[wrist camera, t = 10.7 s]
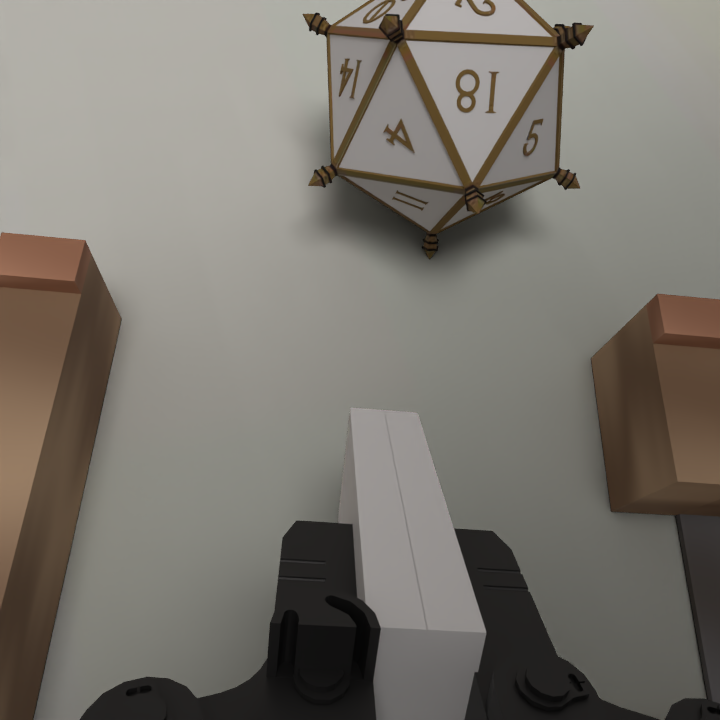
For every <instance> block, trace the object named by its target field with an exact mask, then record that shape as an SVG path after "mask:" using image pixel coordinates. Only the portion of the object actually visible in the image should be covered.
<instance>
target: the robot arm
mask: <svg viewBox="0 0 720 720" xmlns="http://www.w3.org/2000/svg"><path fill="white" fill-rule="evenodd" d="M338 520H339V523H328V522H312V521H296V522H295V523H294V524H293V525H292V527H291V528H290V529H289V530H288V532H287V533H286V534H285V535H284V537H283V540H282V549H281V558H280V567H279V577H278V585H277V594H276V604H275V612H274V615H273V617H272V620H271V622H270V632H269V646H268V658H267V660H266V661H265V663H264V664H263V666H262V668H261V669H260V670H259V671H258V672H257V673H256V674H255V675H254V676H253V677H252V678H251V679H249V680H248V681H246V682H244V683H243V684H241V685H239V686H238V687H236V688H233V689H230V690H227V691H224V692H222V693H218V694H214V695H210V696H206V697H201V698H196V697H195V696H194V695H193V694H192V692H191V691H190V690H189V689H188V688H187V687H186V686H184V685H182V684H180V683H177V682H175V681H173V680H171V679H168V678H155V677H144V678H140V679H136V680H131V681H127V682H123V683H122V684H120V685H118V686H116V687H114V688H112V689H111V690H109V691H107V692H105V693H103V694H102V695H101V696H100V697H99V698H98V699H97V700H96V701H95V702H94V703H93V704H92V705H91V706H90V707H89V708H88V709H87V710H86V712H85V713H84V714H83V716H82V717H81V719H80V720H659V719H656V718H653V717H649V716H646V715H643V714H640V713H637V712H634V711H630V710H627V709H624V708H621V707H618V706H616V705H613V704H611V703H608V702H606V701H603V700H602V699H600V698H599V697H598V695H597V693H596V691H595V689H594V688H593V687H592V685H591V684H590V682H589V681H588V679H587V678H586V677H585V675H584V674H583V673H582V672H580V671H579V670H578V669H577V668H575V667H574V666H573V665H572V664H571V663H569V662H568V661H566V660H564V659H562V658H560V657H558V656H557V654H556V651H555V649H554V647H553V645H552V642H551V640H550V638H549V635H548V633H547V631H546V628H545V626H544V624H543V621H542V619H541V617H540V615H539V612H538V610H537V608H536V605H535V603H534V601H533V598H532V596H531V594H530V592H528V587H527V585H526V582H525V580H524V578H523V575H522V574H520V568H519V566H518V564H517V561H516V559H515V557H514V554H513V552H512V550H511V549H510V548H509V547H508V546H507V545H506V544H505V543H504V542H503V541H502V540H501V539H500V538H499V537H498V536H497V535H496V534H495V533H494V532H493V531H483V530H468V529H454V527H453V524H452V521H451V518H450V514H449V511H448V508H447V505H446V502H445V498H444V495H443V492H442V489H441V486H440V482H439V479H438V476H437V473H436V470H435V466H434V463H433V460H432V457H431V454H430V450H429V447H428V444H427V441H426V438H425V434H424V431H423V428H422V425H421V422H420V418H419V415H418V413H417V412H404V411H391V410H379V409H366V408H353V407H350V413H349V422H348V431H347V440H346V449H345V458H344V467H343V476H342V485H341V495H340V504H339V513H338ZM665 720H720V703H717V702H713V701H710V700H707V699H689V698H685V699H683V700H681V701H679V702H677V703H675V704H673V705H672V706H671V708H670V710H669V712H668V714H667V716H666V719H665Z"/></svg>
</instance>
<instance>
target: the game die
mask: <svg viewBox="0 0 720 720" xmlns="http://www.w3.org/2000/svg"><path fill="white" fill-rule="evenodd" d="M319 15H320V14H319V13H315V14H303V16H304V18H305V20H306V22H307V24H308V26H309V31H311V30H313V31H315V32H316V35H318V34H322V35H325V36H326V37H327V63H328V90H329V118H330V145H331V165H330V166H327V167H324V166H322V167H321V169H319V170H318V171H317V170H315V171H314V175H313V177H312V179H311V181H310V183H309V185H308V186H322V187H324V188H325V187H326V186H325V185H326V184H327V183H332V179H333V178H334V177H335V176H337V175H338V176H339V177H341V178H342V179H344V180H346V181H347V182H349V183H350V184H352V185H353V186H355V187H357V188H358V189H360V190H361V191H363V192H364V193H366V194H368V195H369V196H371V197H372V198H374V199H375V200H377V201H379V202H380V203H382V204H383V205H385V206H386V207H388V208H390V209H391V210H393V211H394V212H396V213H397V214H399V215H401V216H402V217H404V218H405V219H407V220H408V221H410V222H412V223H413V224H415V225H416V226H418V227H419V228H421V229H423V230H424V231H426V233H427V235H426V237H425V239H423V242H424V246H422V248H423V249H424V250H425V252H426V254H427V256H428V257H429V259H430V258H431V257H432V255H433V254H434V253H435V251H437V250H438V246H437V244H438V239H437V236H436V234H437V233H439V232H441V231H444V230H446V229H448V228H450V227H452V226H454V225H456V224H458V223H460V222H462V221H464V220H466V219H468V218H470V217H472V216H475V215H477V214H479V213H481V212H483V211H485V210H487V209H489V208H491V207H493V206H495V205H497V204H499V203H501V202H504V201H506V200H508V199H510V198H512V197H514V196H516V195H518V194H520V193H522V192H524V191H526V190H528V189H530V188H533V187H535V186H537V185H539V184H541V183H543V182H545V181H547V180H549V179H551V178H554V179H556V180H557V181H558V182H557V183H558V185H562V186H563V187H564V189H565V190H566V189H571V188H580V186H579V184H578V181H577V178H576V173H574V174H572V173H571V172H569V171H570V170H569V169H568V170H562V169H560V167H559V161H560V139H561V117H562V96H563V74H564V52H565V48H571V49H574V48H575V46H577V45H579V44H580V46H582V45H583V44H584V41H585V39H586V37H587V35H588V34H589V32H590V31H591V29H592V28H593V26H590V25H582V23H573V24H572V25H573V26H572V27H571V26H564V24H555V27H554V28H552V27H551V26H550V25H549V24H548V23H547V22H545V21H544V20H543V19H542V18H541V17H540V16H539V15H538V14H537V13H536V12H535V11H534V10H533V9H532V8H531V7H530V6H529V5H528V4H527V3H525V2H524V1H523V0H369V1H368V2H366V3H365V4H363V5H362V6H360V7H359V8H357V9H356V10H354V11H353V12H351V13H350V14H348V15H346V16H345V17H343V18H342V19H340V20H339V21H337V22H336V23H334V24H333V25H330V24H329V23H328V22H327V21H326V18H325V17H321V16H319Z"/></svg>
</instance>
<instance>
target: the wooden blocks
mask: <svg viewBox="0 0 720 720" xmlns="http://www.w3.org/2000/svg"><path fill="white" fill-rule="evenodd" d="M120 323H121V317H120V315H119V313H118V310H117V308H116V306H115V304H114V302H113V300H112V297H111V295H110V293H109V291H108V289H107V286H106V284H105V282H104V280H103V278H102V276H101V273H100V271H99V269H98V267H97V265H96V263H95V260H94V258H93V256H92V254H91V252H90V250H89V247H88V245H87V243H86V241H85V240H77V239H66V238H55V237H44V236H34V235H23V234H12V233H1V236H0V720H33V717H34V712H35V708H36V703H37V699H38V694H39V690H40V685H41V681H42V676H43V671H44V667H45V662H46V658H47V653H48V649H49V644H50V640H51V635H52V631H53V626H54V622H55V617H56V613H57V608H58V604H59V599H60V595H61V590H62V586H63V581H64V577H65V572H66V567H67V563H68V558H69V554H70V549H71V545H72V540H73V536H74V531H75V527H76V522H77V518H78V513H79V509H80V504H81V500H82V495H83V491H84V486H85V482H86V477H87V473H88V468H89V464H90V459H91V454H92V450H93V445H94V441H95V436H96V432H97V427H98V423H99V418H100V414H101V409H102V405H103V400H104V396H105V391H106V387H107V382H108V378H109V373H110V369H111V364H112V360H113V355H114V351H115V346H116V341H117V337H118V332H119V328H120ZM591 361H592V369H593V376H594V384H595V391H596V399H597V407H598V414H599V422H600V429H601V437H602V445H603V452H604V460H605V467H606V475H607V483H608V490H609V498H610V505H611V511H612V512H628V513H644V514H660V515H676V519H677V525H678V531H679V536H680V542H681V548H682V554H683V559H684V565H685V571H686V576H687V582H688V588H689V594H690V599H691V605H692V611H693V617H694V622H695V628H696V634H697V640H698V645H699V651H700V657H701V663H702V668H703V674H704V680H705V686H706V691H707V697H708V700H710V701H713V702H717V703H720V300H718V299H708V298H697V297H686V296H676V295H665V294H657V295H656V296H655V297H654V298H653V299H652V300H651V301H650V302H649V303H647V304H646V305H645V306H644V307H643V308H642V309H641V310H640V311H639V312H638V313H637V314H636V315H635V316H634V317H633V318H632V319H631V320H630V321H629V322H628V323H627V324H626V325H625V326H624V327H623V328H622V329H621V330H620V331H619V332H618V333H617V334H616V335H614V336H613V337H612V338H611V339H610V340H609V341H608V342H607V343H606V344H605V345H604V346H603V347H602V348H601V349H600V350H599V351H598V352H597V353H596V354H595V355H594V356H593V357H592V358H591Z"/></svg>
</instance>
